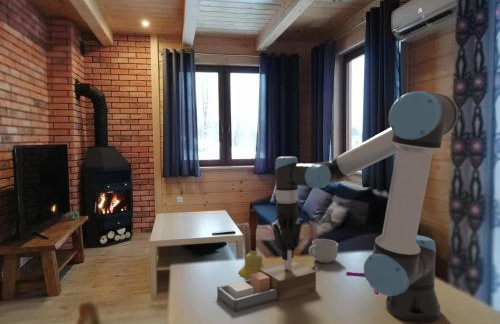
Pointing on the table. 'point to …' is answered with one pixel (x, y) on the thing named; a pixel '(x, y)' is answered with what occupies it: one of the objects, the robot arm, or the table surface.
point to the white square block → (240, 290)
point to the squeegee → (359, 275)
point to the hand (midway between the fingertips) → (287, 268)
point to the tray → (245, 298)
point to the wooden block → (290, 279)
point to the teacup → (324, 250)
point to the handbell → (252, 250)
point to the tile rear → (259, 282)
